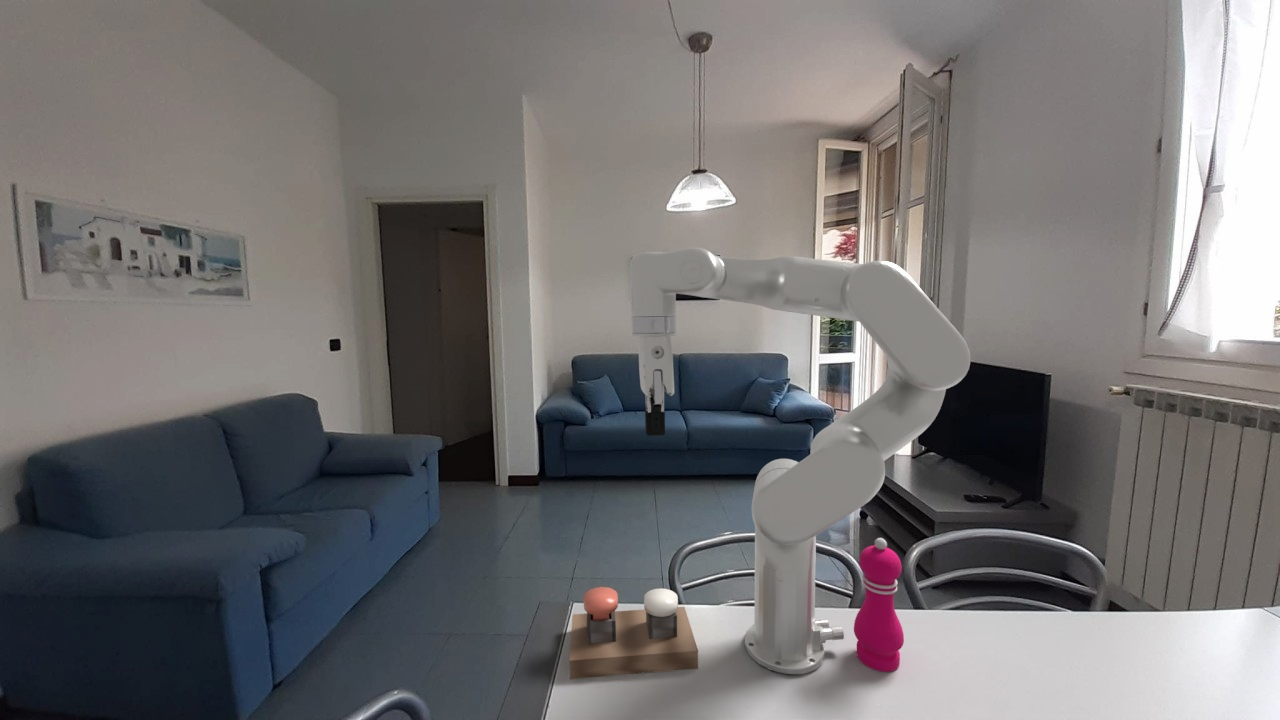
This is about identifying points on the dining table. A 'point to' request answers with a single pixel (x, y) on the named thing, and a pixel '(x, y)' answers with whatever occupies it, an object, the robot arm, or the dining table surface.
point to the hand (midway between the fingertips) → (655, 434)
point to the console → (631, 644)
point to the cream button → (661, 602)
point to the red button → (600, 602)
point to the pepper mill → (879, 609)
